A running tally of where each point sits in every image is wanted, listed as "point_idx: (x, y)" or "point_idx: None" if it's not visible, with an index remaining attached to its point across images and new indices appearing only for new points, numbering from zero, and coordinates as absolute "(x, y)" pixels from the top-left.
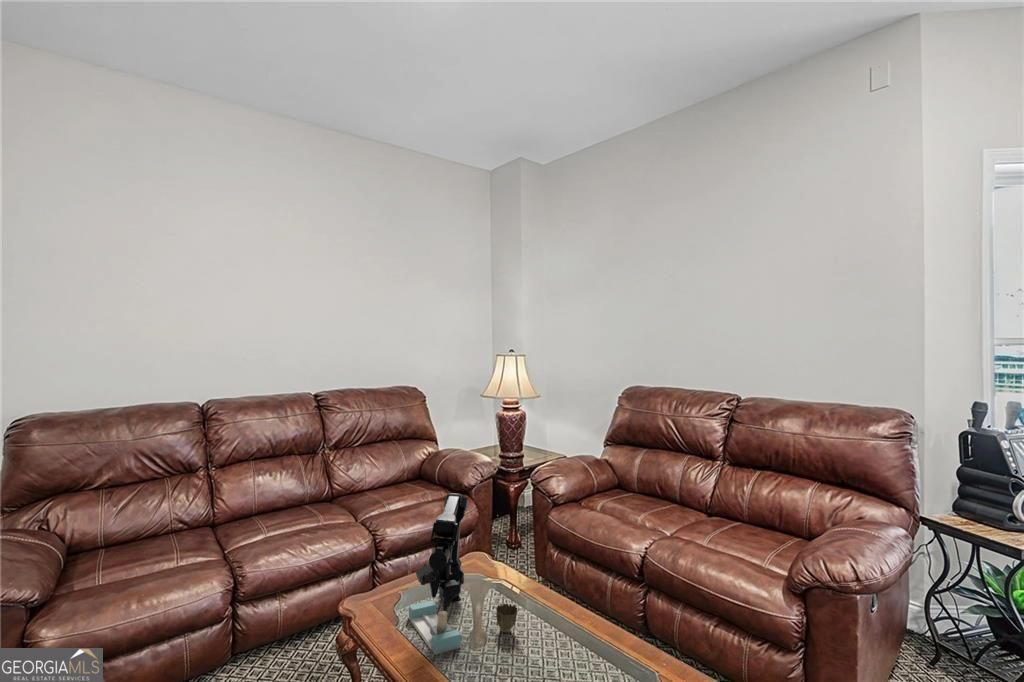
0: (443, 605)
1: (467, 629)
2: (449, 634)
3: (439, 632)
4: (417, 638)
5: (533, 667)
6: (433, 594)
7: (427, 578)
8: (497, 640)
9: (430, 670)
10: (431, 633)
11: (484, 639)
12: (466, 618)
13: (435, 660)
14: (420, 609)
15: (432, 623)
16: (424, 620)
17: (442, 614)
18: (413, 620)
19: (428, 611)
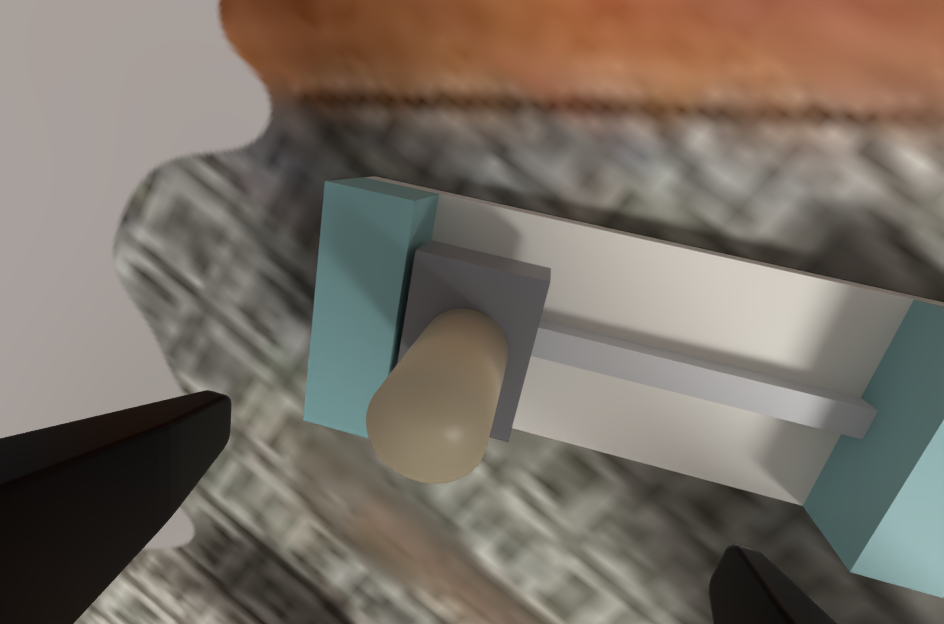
0: (66, 424)
1: (492, 534)
2: (345, 344)
3: (415, 291)
4: (644, 191)
5: None
6: (749, 608)
7: None
8: (300, 569)
9: (235, 34)
10: (519, 263)
11: (345, 530)
12: (601, 611)
13: (317, 141)
14: (929, 415)
15: (671, 381)
16: (794, 376)
17: (402, 409)
18: (880, 299)
19: (854, 470)
